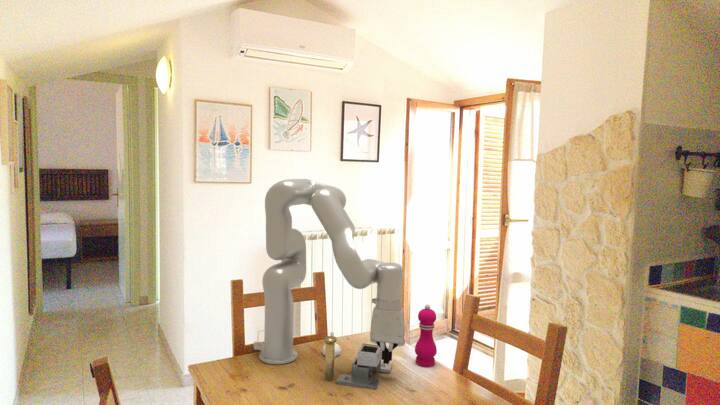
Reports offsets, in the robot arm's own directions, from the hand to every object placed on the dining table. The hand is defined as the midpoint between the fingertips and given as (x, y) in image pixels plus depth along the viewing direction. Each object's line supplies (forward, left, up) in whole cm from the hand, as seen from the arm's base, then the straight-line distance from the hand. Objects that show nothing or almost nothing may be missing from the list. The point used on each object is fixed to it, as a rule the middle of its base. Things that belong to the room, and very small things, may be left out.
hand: (386, 362), depth 150 cm
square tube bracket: (-5, +3, -5) cm, 8 cm away
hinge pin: (-16, -6, -5) cm, 18 cm away
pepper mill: (+11, +15, -5) cm, 19 cm away
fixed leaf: (-7, -3, -5) cm, 9 cm away
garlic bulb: (-21, +13, -5) cm, 26 cm away
